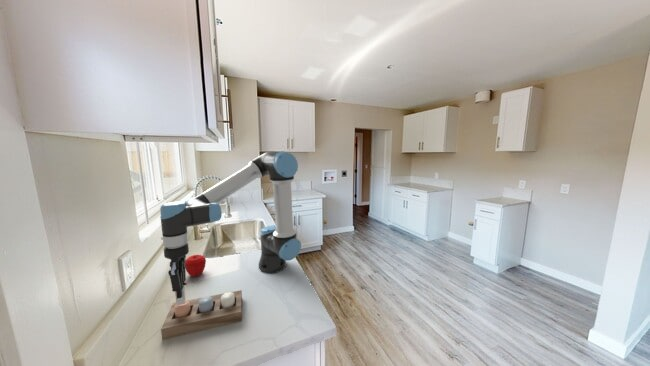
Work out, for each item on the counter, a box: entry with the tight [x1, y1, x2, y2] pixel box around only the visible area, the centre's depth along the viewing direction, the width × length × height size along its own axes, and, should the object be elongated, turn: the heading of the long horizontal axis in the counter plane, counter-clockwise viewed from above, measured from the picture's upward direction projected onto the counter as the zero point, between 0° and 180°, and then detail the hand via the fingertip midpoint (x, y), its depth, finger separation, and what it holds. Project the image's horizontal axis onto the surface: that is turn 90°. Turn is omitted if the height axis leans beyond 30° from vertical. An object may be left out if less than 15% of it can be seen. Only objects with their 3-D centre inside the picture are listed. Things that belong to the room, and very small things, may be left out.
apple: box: [185, 254, 207, 278], centre depth 117 cm, size 10×10×11 cm
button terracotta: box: [174, 300, 191, 319], centre depth 86 cm, size 5×5×5 cm
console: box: [160, 289, 243, 340], centre depth 89 cm, size 14×26×4 cm, turn 109°
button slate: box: [198, 295, 214, 314], centre depth 88 cm, size 5×5×5 cm
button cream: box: [221, 291, 235, 309], centre depth 91 cm, size 5×5×5 cm
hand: (181, 303), depth 85 cm, fingers closed
